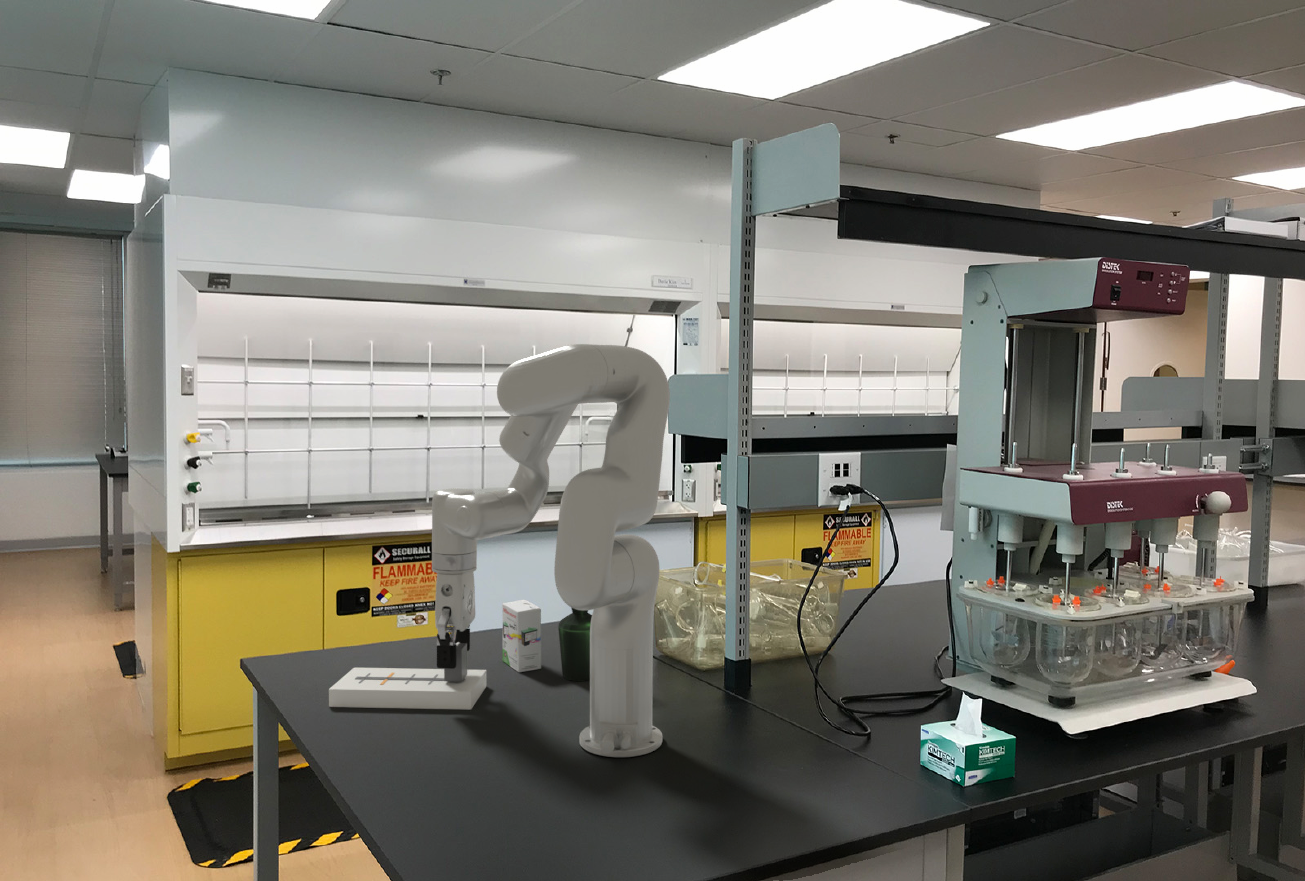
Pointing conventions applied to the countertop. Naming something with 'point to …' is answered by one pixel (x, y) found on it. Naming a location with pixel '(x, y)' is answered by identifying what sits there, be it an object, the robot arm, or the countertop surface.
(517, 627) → the ink box
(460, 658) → the fader knob
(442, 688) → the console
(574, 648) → the potion bottle
